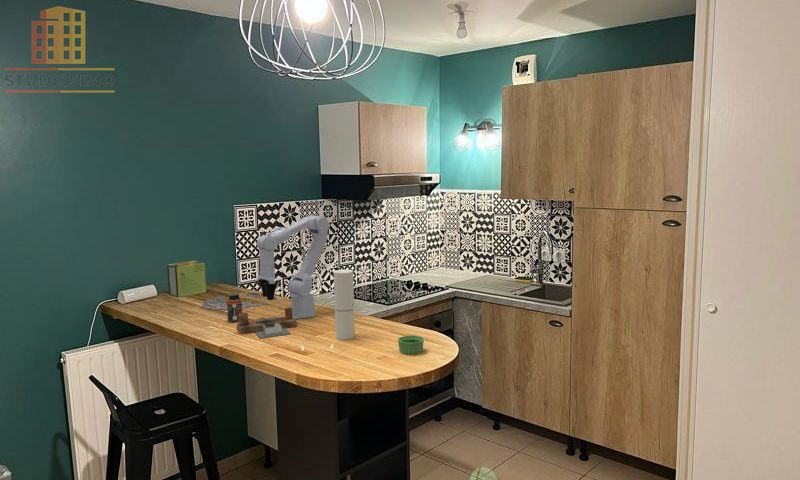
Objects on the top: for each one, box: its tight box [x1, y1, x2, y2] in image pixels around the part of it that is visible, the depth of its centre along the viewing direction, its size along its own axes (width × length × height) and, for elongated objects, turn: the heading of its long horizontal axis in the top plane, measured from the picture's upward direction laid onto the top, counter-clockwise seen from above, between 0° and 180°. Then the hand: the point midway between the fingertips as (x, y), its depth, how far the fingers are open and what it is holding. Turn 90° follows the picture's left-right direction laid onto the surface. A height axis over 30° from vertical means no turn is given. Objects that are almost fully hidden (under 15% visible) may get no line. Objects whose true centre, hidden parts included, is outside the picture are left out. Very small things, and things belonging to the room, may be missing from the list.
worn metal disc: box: [201, 292, 278, 311], centre depth 291 cm, size 33×35×1 cm
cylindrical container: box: [333, 269, 356, 341], centre depth 228 cm, size 7×7×25 cm
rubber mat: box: [254, 328, 292, 339], centre depth 235 cm, size 12×8×1 cm, turn 116°
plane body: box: [236, 306, 298, 335], centre depth 243 cm, size 22×8×7 cm, turn 116°
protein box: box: [166, 260, 207, 298], centre depth 310 cm, size 10×15×16 cm
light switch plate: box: [261, 323, 282, 336], centre depth 235 cm, size 6×4×4 cm
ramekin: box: [397, 335, 425, 355], centre depth 211 cm, size 9×9×4 cm
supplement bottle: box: [226, 292, 243, 323], centre depth 255 cm, size 6×6×11 cm
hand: (268, 298), depth 250 cm, fingers open, 7 cm apart
